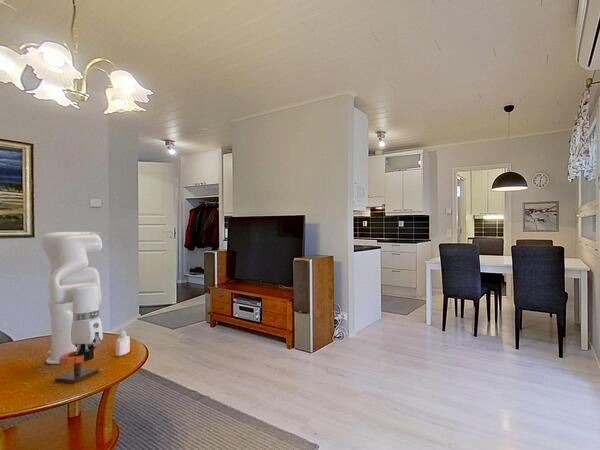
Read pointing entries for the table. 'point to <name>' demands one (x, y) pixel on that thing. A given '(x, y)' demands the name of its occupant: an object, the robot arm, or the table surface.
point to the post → (76, 374)
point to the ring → (71, 358)
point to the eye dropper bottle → (122, 344)
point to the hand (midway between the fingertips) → (86, 359)
